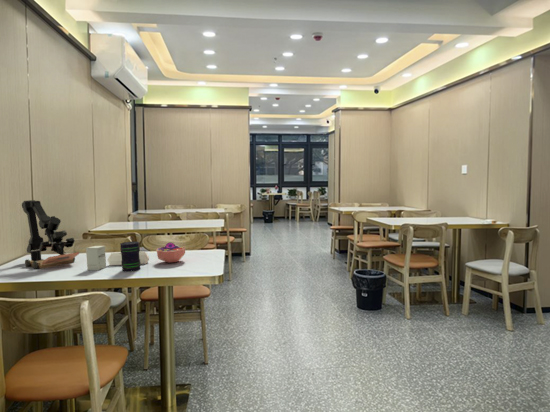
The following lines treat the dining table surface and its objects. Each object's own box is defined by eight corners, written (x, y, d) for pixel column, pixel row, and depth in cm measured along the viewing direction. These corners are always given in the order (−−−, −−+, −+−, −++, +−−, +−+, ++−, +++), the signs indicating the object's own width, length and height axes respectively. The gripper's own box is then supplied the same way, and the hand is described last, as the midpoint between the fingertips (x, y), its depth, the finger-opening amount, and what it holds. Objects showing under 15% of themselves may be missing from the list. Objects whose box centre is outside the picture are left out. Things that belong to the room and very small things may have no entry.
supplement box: (98, 270, 232) (97, 247, 231) (87, 270, 233) (85, 247, 232) (106, 267, 239) (105, 245, 238) (95, 267, 240) (93, 245, 239)
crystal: (151, 254, 252) (110, 257, 251) (148, 250, 246) (106, 253, 244) (150, 266, 249) (109, 268, 248) (147, 262, 242) (105, 265, 241)
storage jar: (140, 267, 236) (138, 240, 235) (141, 270, 226) (139, 243, 225) (121, 269, 232) (119, 242, 231) (121, 272, 223) (119, 245, 222)
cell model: (155, 266, 235) (154, 246, 234) (157, 260, 254) (156, 241, 253) (185, 264, 238) (184, 244, 237) (186, 257, 258) (185, 239, 257)
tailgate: (41, 262, 243) (48, 257, 236) (71, 257, 256) (78, 252, 250) (42, 266, 243) (49, 260, 236) (71, 260, 256) (79, 255, 250)
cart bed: (24, 266, 252) (23, 259, 252) (62, 259, 270) (62, 252, 270) (37, 269, 241) (36, 261, 241) (76, 262, 259) (75, 255, 259)
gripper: (39, 228, 239) (49, 248, 233) (72, 224, 254) (82, 243, 248) (34, 241, 244) (44, 261, 238) (66, 236, 259) (77, 255, 253)
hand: (62, 255), depth 244 cm, fingers closed
